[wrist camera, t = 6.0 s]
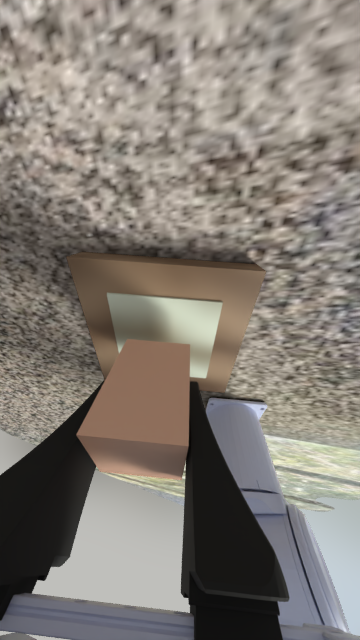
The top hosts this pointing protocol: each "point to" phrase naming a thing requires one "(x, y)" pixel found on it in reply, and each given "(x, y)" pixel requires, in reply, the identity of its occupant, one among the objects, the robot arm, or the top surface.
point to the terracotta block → (142, 412)
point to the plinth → (168, 307)
